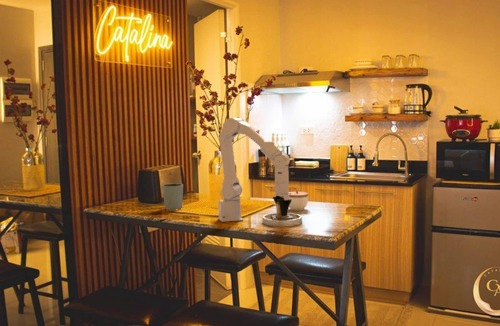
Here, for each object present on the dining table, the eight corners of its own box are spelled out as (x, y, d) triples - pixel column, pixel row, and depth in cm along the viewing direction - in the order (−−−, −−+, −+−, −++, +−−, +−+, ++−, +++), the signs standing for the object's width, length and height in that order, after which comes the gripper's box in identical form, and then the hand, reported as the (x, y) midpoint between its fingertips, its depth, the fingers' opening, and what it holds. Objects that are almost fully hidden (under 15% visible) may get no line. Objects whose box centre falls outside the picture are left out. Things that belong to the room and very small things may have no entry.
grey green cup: (185, 207, 255) (185, 183, 254) (181, 210, 245) (180, 186, 244) (165, 207, 256) (165, 183, 255) (160, 210, 246) (159, 186, 245)
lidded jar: (282, 208, 246) (282, 189, 245) (302, 206, 250) (302, 187, 249) (291, 212, 236) (291, 192, 235) (312, 210, 240) (312, 190, 239)
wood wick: (278, 222, 213) (277, 203, 212) (276, 221, 215) (276, 202, 215) (287, 221, 214) (287, 202, 213) (285, 220, 216) (285, 201, 216)
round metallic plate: (268, 227, 205) (268, 221, 205) (259, 219, 221) (259, 214, 221) (306, 225, 209) (306, 219, 208) (294, 217, 224) (294, 211, 224)
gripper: (296, 184, 207) (296, 217, 208) (285, 179, 221) (286, 210, 222) (279, 184, 205) (279, 218, 207) (270, 180, 219) (270, 211, 221)
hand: (282, 214), depth 214 cm, fingers open, 5 cm apart
